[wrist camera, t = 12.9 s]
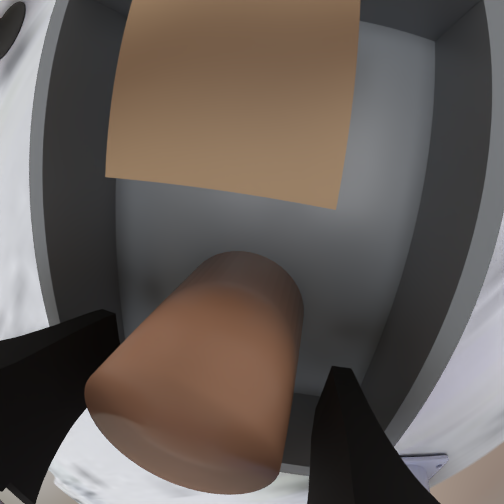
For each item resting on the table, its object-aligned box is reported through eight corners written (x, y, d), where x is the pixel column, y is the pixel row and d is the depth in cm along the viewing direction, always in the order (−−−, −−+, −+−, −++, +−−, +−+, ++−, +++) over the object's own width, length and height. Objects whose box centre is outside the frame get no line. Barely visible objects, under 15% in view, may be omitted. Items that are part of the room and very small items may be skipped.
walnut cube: (326, 183, 10) (336, 210, 5) (190, 163, 11) (105, 177, 6) (343, 49, 8) (360, -23, 4) (207, 39, 9) (137, -17, 4)
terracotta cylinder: (290, 366, 13) (262, 507, 6) (185, 342, 13) (107, 454, 7) (315, 264, 11) (305, 411, 4) (188, 240, 12) (64, 334, 5)
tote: (361, 401, 14) (366, 479, 9) (123, 346, 16) (74, 399, 11) (444, 38, 8) (501, -10, 3) (133, 16, 10) (63, -19, 5)
